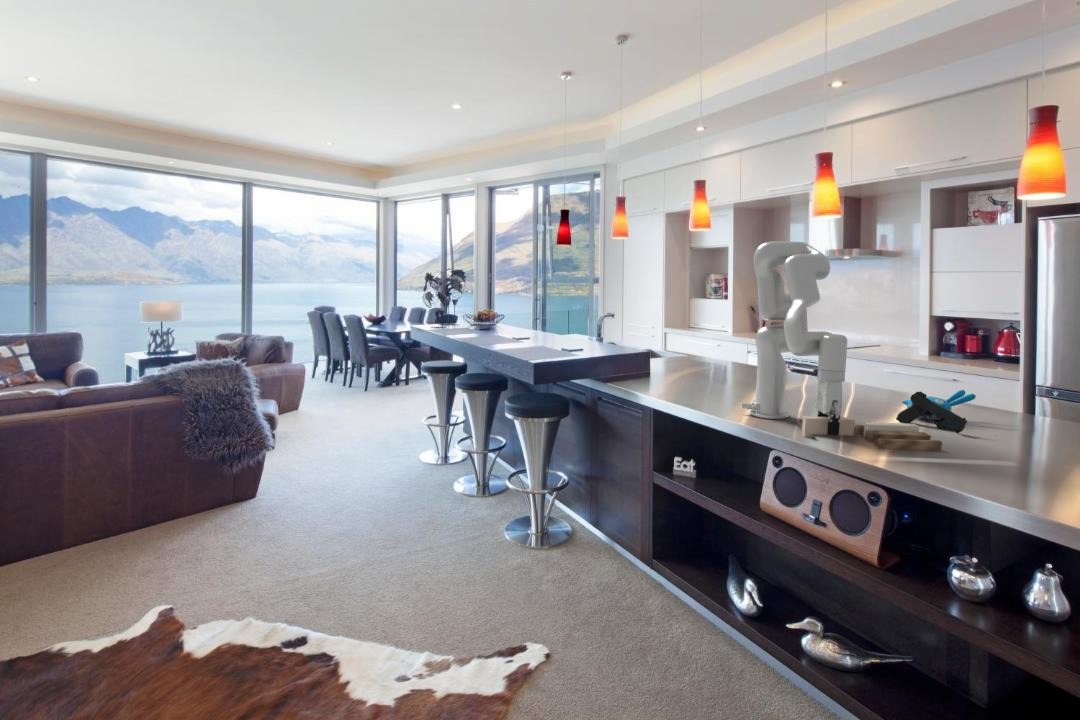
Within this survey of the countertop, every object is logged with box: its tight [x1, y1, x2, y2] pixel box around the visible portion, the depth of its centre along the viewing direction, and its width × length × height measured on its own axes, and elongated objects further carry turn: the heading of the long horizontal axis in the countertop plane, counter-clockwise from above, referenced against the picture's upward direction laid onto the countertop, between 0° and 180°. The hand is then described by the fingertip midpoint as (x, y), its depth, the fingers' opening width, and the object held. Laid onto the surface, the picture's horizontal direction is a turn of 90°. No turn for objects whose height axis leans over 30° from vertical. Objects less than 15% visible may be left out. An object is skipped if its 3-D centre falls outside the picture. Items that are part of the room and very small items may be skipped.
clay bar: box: [801, 415, 855, 438], centre depth 187 cm, size 14×3×6 cm, turn 83°
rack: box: [856, 424, 943, 452], centre depth 178 cm, size 16×17×4 cm
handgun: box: [896, 391, 968, 434], centre depth 194 cm, size 2×17×12 cm, turn 41°
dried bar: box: [863, 421, 920, 436], centre depth 182 cm, size 14×3×4 cm, turn 82°
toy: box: [901, 389, 977, 421], centre depth 208 cm, size 20×19×10 cm
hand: (827, 430), depth 187 cm, fingers open, 9 cm apart
